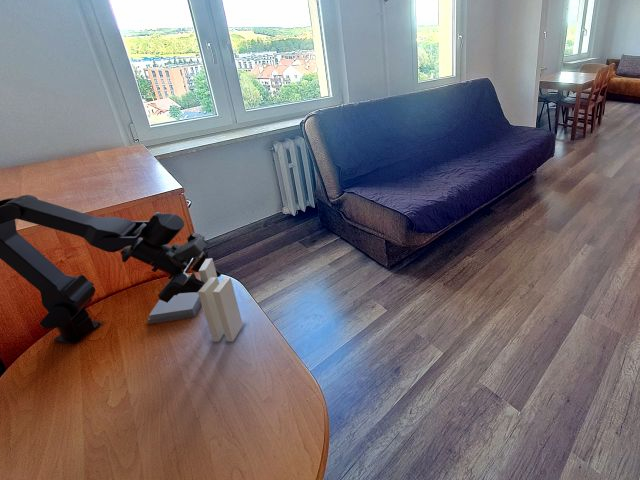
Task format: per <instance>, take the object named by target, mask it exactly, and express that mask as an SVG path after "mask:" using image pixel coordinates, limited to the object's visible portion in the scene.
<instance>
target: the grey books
mask: <svg viewBox="0 0 640 480" xmlns="http://www.w3.org/2000/svg"><path fill="white" fill-rule="evenodd" d="M201 306H202V304H201V301H200V298H199V294H198V292H193V293H180V294H178V295H177V296H176V295H174V296H173V297H172V298H171V300H170V301H169V302H168V303H167V302H164V301H162V300H160V299H159V300H158V301H157V302H156V304H155V306H154V307H153V309H152V310H151V311H150V313H149V314H148V319H147V323H148V325H150V324H159V323H163V322H171V321H176V320H177V321H178V320H182V319H189V318H195V316H196V315H197V313H198V311H199V309H200V307H201Z"/></svg>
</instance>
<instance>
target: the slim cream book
mask: <svg viewBox="0 0 640 480" xmlns="http://www.w3.org/2000/svg"><path fill="white" fill-rule="evenodd" d="M215 267H216V266H215V263H214V259H213V258H212V257H209V258H208V259H205V261H204V263H203V264H202V266H201V268H200V269H199V272H198V273H199V277H200V281H202V282H204V283H206V282H207V281H208V280H209V279H210V278H211V277H212V278H217V280H218V284H220V281H219V277H217V274H216V270H215Z"/></svg>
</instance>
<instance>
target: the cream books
mask: <svg viewBox="0 0 640 480" xmlns="http://www.w3.org/2000/svg"><path fill="white" fill-rule="evenodd" d="M218 281H219V279H218V280H217V278H212V277H211V278H210V279H209V280H208V281H207V282H206V283H205V284H204V285H203V287H202V288H201V289H200V290H199V291H198V294H199V298H200V301H201V308H202V311H203V313H204V317H205V320H206V323H207V326H208V327H207V328H208V330H209V334H210V337H211V340H212V342H220V341H221V339H222V338H223V336H224V338H225V340H226V342H234V340H235V339H236V337H238V334H239V332H240V331H241V329H242V328H243V327H244V326H243V325H244V324H243V320H242V316H241V312H240V308H239V304H238V301H237V297H236V293H235V289H234V285H233V282H232V278H231V277H223V279H222V280H221V281H219V284H218Z"/></svg>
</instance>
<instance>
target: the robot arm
mask: <svg viewBox="0 0 640 480" xmlns="http://www.w3.org/2000/svg"><path fill="white" fill-rule="evenodd" d="M16 220H20V221H24V222H26V223H31V224H34V225H38V226H42V227H45V228H48V229H52V230H55V231H60V232H64V233H67V234H70V235H74V236H78V237H80V238H82V239H84V240H85V241H86V242H87V243H88V244H89V246H92V247H94V248H96V249H99V250H101V251H104V252H107V253H116V252H119V251H120V254H121V261H122V262H123V263H126V262H127V261H128V260H129V259H130V258H133V259H135V260H138V261H139V262H142V263H143V264H146V265H148V266H149V267H150V266H151V267H152V269H151V272H154V273H156V272H157V271H158V270H159V271H161V272H163V273H165V274H167V275H168V277H167V279H169V280H168V281H167V282H166V284H165V285H164V286H163V287H162V289H161V290H160V292H159V293H158V294H157V297H158V299H159V300H162V301H164V302H167V303H168V302H169V301H170V300H171V298H172V297H173V296H174V295H176V296H177V295H178V294H180V293H193V292H198V291H199V290H200V289H201V288H202V287H203V285H204V284H205V283H204V282H202V281H201V279H198V278H197V277H196V273H199V269H200V268H201V266H202V264H203V263H204V261H205V259H209V250H208V249H207V248H208V247H209V245H210V244H211V242H209V241H208V240H206V239H205V236H204V235H202V234H200V233H198V232H195V231H194V232H192V233H190V234H189V235H188V237H186V239H187V241H185V242H184V243H183V244H182V245H181V244H179V243H173V244H172V245H169V244H170V243H171V242H172V241H173V240H174V238H175V237H176V236H177V235H178V234H179V233H180V232H181V231H182V229H183V228H184V227H185V221H184V220H183V218H182V217H181V216H179V215H178V214H175V213H170V212H169V213H168V212H165V213H162V212H160V211H156V212H155V213H154V214H153V215H152V216H151V217H150V219H149V220H131V219H129V218H122V217H117V216H95V215H92V214H88V213H84V212H82V211H77V210H75V209H71V208H68V207H65V206H61V205H59V204H58V205H57V204H55V203H51V202H48V201H44V200H42V199H39V198H38V197H37V196H34V195H32V194H25V195H19V196H17V197H7V198H4V199H0V260H1V261H3V262H4V263H5V264H6V265H8V267H10V268H11V269H12V270H14V271H15V272H16V273H17V274H18V275H20V276H21V277H22V278H23V279H24V280H26V281H27V282H28V283H29V284H31V286H33V287H34V288H35V289H37V290H38V291H39V292H40V299H41V305H42V306H43V307H44V309H45V310H46V311H47V314H46V315H45V316H44V317H43V318H42V319H41V321H40V322H39V323H38V324H39V325H40V326H41V327H42V328H44V329H45V330H49V329H55V328H56V329H57V330H58V332H59V335H57V336H55V337H54V338H53V341H55V342H58V343H62V344H63V343H65V344H70V345H76V344H78V343H79V342H81V340H83V339H84V338H85V337H87V336H88V335H89V334H91V333H92V332H93V331H95V330H96V329H97V328H98V327H100V326H102V322H101V321H95V320H92V318H91V316H90V314H89V312H88V310H87V308H86V307H87V306H88V305H89V304H90V303H91V302H92V300H93V297H94V296H95V293H96V288H95V287H94V285H95V283H94V282H91V281H90V280H88V278H87V277H86V276H85V275H84V274H79V275H78V276H72V275H67V274H65V273H64V272H63V271H62V270H61V269H60V268H58V267H57V266H56V265H55V264H54V263H53V262H51V261H50V260H49V259H48V258H47V257H46V256H45V255H44V254H42V252H40V251H39V250H38V249H37V248H35V246H34V245H32V244H31V243H30V241H28V240H27V239H25V238H24V237H23V236H22V235H21V234H19V232H18V231H17V223H16ZM189 270H190V271H193V272H192V273H191V274H188V272H189ZM215 270H216V274H217V277H218V278H219V277H221V276H222V272H221V271H220V270H219V269H218V268H217V267H216V266H215ZM195 272H196V273H195Z"/></svg>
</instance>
